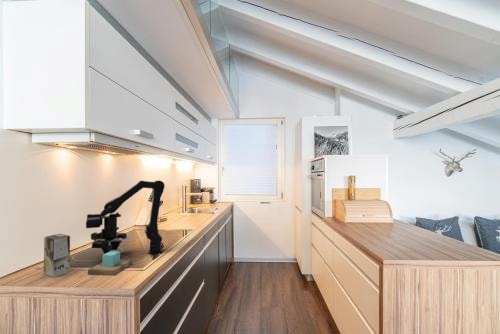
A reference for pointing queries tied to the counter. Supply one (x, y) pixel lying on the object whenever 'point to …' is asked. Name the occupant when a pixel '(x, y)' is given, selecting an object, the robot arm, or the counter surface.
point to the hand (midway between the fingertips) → (110, 257)
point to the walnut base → (109, 268)
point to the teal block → (110, 259)
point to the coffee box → (56, 255)
